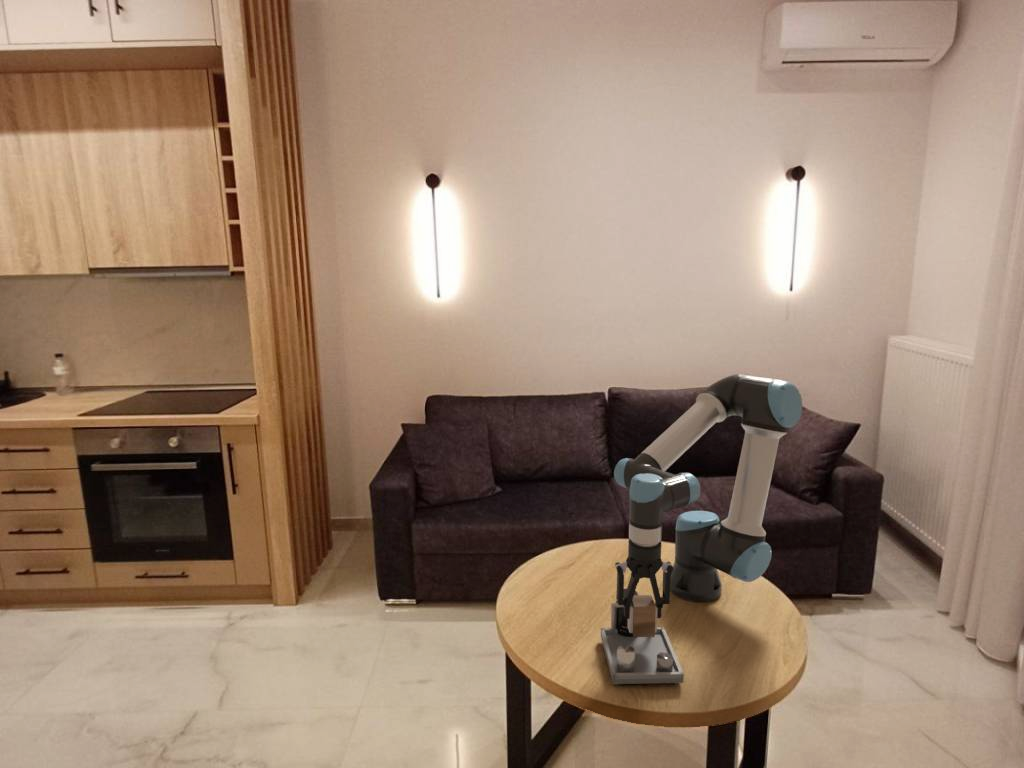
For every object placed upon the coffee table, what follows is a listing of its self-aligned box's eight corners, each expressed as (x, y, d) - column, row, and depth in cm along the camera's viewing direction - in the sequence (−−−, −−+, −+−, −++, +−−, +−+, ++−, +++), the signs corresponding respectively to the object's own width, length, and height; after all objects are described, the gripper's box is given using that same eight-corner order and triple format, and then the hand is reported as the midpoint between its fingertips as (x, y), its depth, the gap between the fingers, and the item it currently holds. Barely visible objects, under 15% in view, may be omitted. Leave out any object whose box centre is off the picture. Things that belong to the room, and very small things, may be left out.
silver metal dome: (670, 663, 143) (670, 652, 143) (674, 674, 140) (674, 662, 139) (654, 664, 143) (655, 652, 143) (658, 674, 140) (659, 662, 139)
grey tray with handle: (663, 638, 157) (664, 601, 154) (683, 687, 139) (684, 645, 137) (600, 640, 157) (601, 602, 154) (612, 688, 139) (613, 647, 137)
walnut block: (654, 636, 146) (655, 606, 144) (633, 637, 146) (634, 606, 144) (650, 624, 151) (650, 595, 149) (629, 625, 151) (630, 595, 149)
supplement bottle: (624, 646, 153) (625, 603, 151) (608, 632, 159) (608, 590, 156) (646, 638, 156) (647, 595, 154) (629, 625, 162) (630, 583, 160)
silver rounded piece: (632, 664, 143) (632, 644, 142) (635, 675, 140) (636, 655, 139) (615, 664, 143) (615, 645, 142) (618, 675, 140) (618, 656, 139)
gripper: (679, 532, 147) (675, 620, 152) (604, 533, 147) (602, 621, 152) (687, 546, 140) (683, 638, 145) (609, 547, 140) (607, 639, 145)
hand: (641, 629), depth 148 cm, fingers closed on walnut block, 5 cm apart
